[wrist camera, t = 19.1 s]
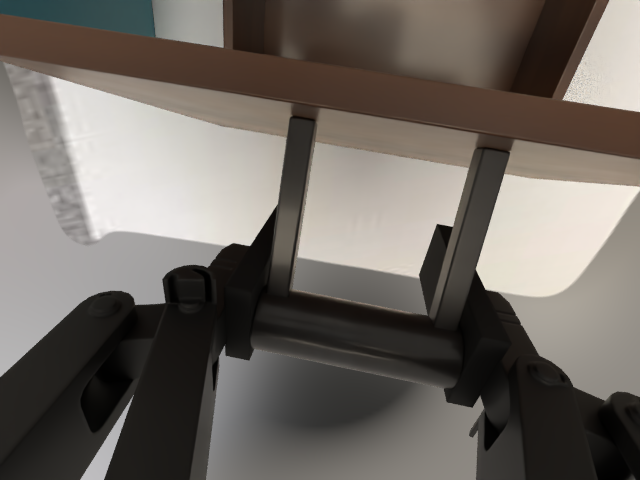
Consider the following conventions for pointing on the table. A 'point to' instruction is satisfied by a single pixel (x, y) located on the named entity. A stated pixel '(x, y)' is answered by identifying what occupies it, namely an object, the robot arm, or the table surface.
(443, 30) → the chest
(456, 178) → the table surface
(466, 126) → the lid
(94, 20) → the block
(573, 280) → the table surface
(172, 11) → the table surface
